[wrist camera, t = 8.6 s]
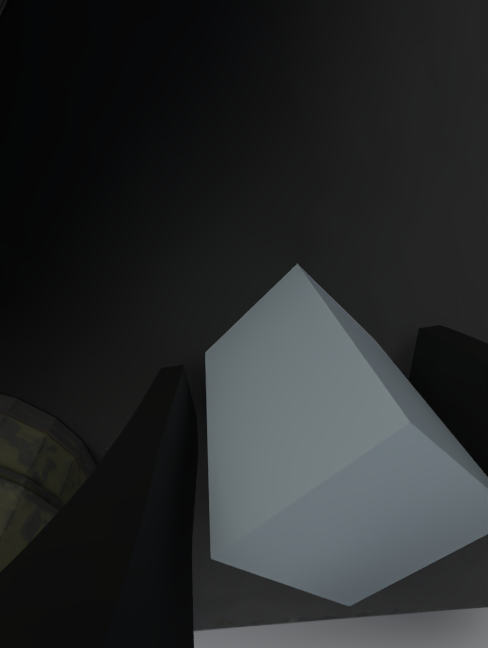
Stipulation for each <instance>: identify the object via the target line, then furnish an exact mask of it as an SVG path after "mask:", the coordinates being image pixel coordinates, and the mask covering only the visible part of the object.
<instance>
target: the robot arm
mask: <svg viewBox="0 0 488 648" xmlns="http://www.w3.org/2000/svg"><path fill="white" fill-rule="evenodd" d="M409 382H410V383H411V384H412V386H413V387H414V388H415V389H416V391H417V392H418V393H419V394H420V395H421V397H422V398H423V399H424V400H425V401H426V403H427V404H428V405H429V406H430V408H431V409H432V410H433V411H434V412H435V414H436V415H437V416H438V417H439V419H440V420H441V421H442V422H443V423H444V425H445V426H446V427H447V428H448V429H449V431H450V432H451V433H452V434H453V436H454V437H455V438H456V439H457V440H458V442H459V443H460V444H461V445H462V446H463V448H464V449H465V450H466V451H467V453H468V454H469V455H470V456H471V457H472V459H473V460H474V461H475V462H476V464H477V465H478V466H479V467H480V468H481V470H482V471H483V472H484V473H485V474H486V476H487V477H488V344H487V343H485V342H483V341H480V340H478V339H475V338H473V337H470V336H468V335H465V334H463V333H460V332H458V331H455V330H452V329H449V328H446V327H443V326H440V325H438V326H432V327H426V328H419V331H418V337H417V342H416V347H415V352H414V357H413V362H412V367H411V373H410V378H409ZM197 460H198V435H197V417H196V413H195V409H194V405H193V401H192V397H191V393H190V389H189V385H188V381H187V377H186V373H185V369H184V365H180V366H173V367H167V368H162V369H161V370H160V371H159V372H158V374H157V376H156V378H155V379H154V381H153V383H152V385H151V386H150V388H149V390H148V391H147V393H146V395H145V396H144V398H143V400H142V401H141V403H140V405H139V406H138V408H137V409H136V411H135V412H134V414H133V416H132V417H131V419H130V420H129V422H128V423H127V425H126V426H125V428H124V429H123V431H122V432H121V434H120V435H119V437H118V438H117V439H116V441H115V442H114V443H113V445H112V446H111V448H110V449H109V450H108V452H107V453H106V455H105V456H104V457H103V459H102V460H101V461H100V463H99V464H98V465H97V467H96V468H95V469H94V470H93V472H92V473H91V474H90V475H89V477H88V478H87V479H86V480H85V482H84V483H83V484H82V485H81V486H80V488H79V489H78V490H77V491H76V492H75V494H74V495H73V496H72V497H71V498H70V499H69V501H68V502H67V503H66V504H65V505H64V506H63V507H62V508H61V510H60V511H59V512H58V513H57V514H56V515H55V516H54V517H53V518H52V519H51V521H50V522H49V523H48V524H47V525H46V526H45V527H44V528H43V529H42V530H41V531H40V532H39V533H38V534H37V535H36V536H35V537H34V539H33V540H32V541H31V542H30V543H29V544H28V545H27V546H26V547H25V548H24V549H23V550H22V551H21V552H20V553H19V554H18V555H17V556H16V557H15V558H14V559H13V560H12V561H11V562H10V563H9V564H8V565H7V566H6V567H5V568H4V569H3V570H2V571H1V572H0V648H194V640H193V639H194V638H193V637H194V635H193V597H192V532H193V518H194V503H195V489H196V475H197Z"/></svg>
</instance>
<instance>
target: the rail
mask: <svg viewBox="0 0 488 648" xmlns="http://www.w3.org/2000/svg"><path fill="white" fill-rule="evenodd" d="M7 2H8V0H0V16H1V14H2V12H3V10H4V8H5V6H6V4H7Z"/></svg>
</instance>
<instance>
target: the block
mask: <svg viewBox="0 0 488 648" xmlns="http://www.w3.org/2000/svg"><path fill="white" fill-rule="evenodd" d="M205 364H206V401H207V439H208V476H209V513H210V550H211V559H213V560H216V561H219V562H222V563H224V564H227V565H230V566H233V567H236V568H239V569H242V570H245V571H248V572H251V573H253V574H256V575H259V576H262V577H265V578H268V579H271V580H274V581H277V582H280V583H283V584H285V585H288V586H291V587H294V588H297V589H300V590H303V591H306V592H309V593H312V594H314V595H317V596H320V597H323V598H326V599H329V600H332V601H335V602H338V603H341V604H344V605H346V606H351V605H353V604H355V603H357V602H359V601H361V600H362V599H364V598H366V597H368V596H370V595H372V594H374V593H376V592H378V591H380V590H382V589H383V588H385V587H387V586H389V585H391V584H393V583H395V582H397V581H399V580H401V579H403V578H405V577H406V576H408V575H410V574H412V573H414V572H416V571H418V570H420V569H422V568H424V567H426V566H427V565H429V564H431V563H433V562H435V561H437V560H439V559H441V558H443V557H445V556H447V555H448V554H450V553H452V552H454V551H456V550H458V549H460V548H462V547H464V546H466V545H468V544H470V543H471V542H473V541H475V540H477V539H479V538H481V537H483V536H485V535H487V534H488V477H487V476H486V474H485V473H484V472H483V471H482V470H481V468H480V467H479V466H478V465H477V464H476V462H475V461H474V460H473V459H472V457H471V456H470V455H469V454H468V453H467V451H466V450H465V449H464V448H463V446H462V445H461V444H460V443H459V442H458V440H457V439H456V438H455V437H454V436H453V434H452V433H451V432H450V431H449V429H448V428H447V427H446V426H445V425H444V423H443V422H442V421H441V420H440V419H439V417H438V416H437V415H436V414H435V412H434V411H433V410H432V409H431V408H430V406H429V405H428V404H427V403H426V401H425V400H424V399H423V398H422V397H421V395H420V394H419V393H418V392H417V391H416V389H415V388H414V387H413V386H412V384H411V383H410V382H409V381H408V380H407V378H406V377H405V376H404V375H403V374H402V372H401V371H400V370H399V369H398V367H397V366H396V365H395V364H394V363H393V361H392V360H391V359H390V358H389V356H388V355H387V354H386V353H385V352H384V350H383V349H382V348H381V347H380V346H379V344H378V343H377V342H376V341H375V339H374V338H373V337H372V336H370V335H369V334H368V333H367V332H366V331H365V330H364V329H363V328H362V327H361V326H360V325H359V324H358V323H357V322H356V321H355V320H354V319H353V318H352V317H351V316H350V315H349V314H348V313H347V312H346V311H345V310H344V309H343V308H342V307H341V306H340V305H339V304H338V303H337V302H336V301H335V300H334V299H333V298H332V297H331V296H330V295H329V294H328V293H327V292H326V291H325V290H323V289H322V288H321V287H320V286H319V285H318V284H317V283H316V282H315V281H314V280H313V279H312V278H311V277H310V276H309V275H308V274H307V273H306V272H305V271H304V270H303V269H302V268H301V267H300V266H299V265H298V264H297V265H296V266H295V267H293V268H292V269H291V270H290V271H289V272H288V273H287V274H286V275H285V276H284V277H283V278H282V279H281V280H280V281H279V282H278V283H277V284H276V285H275V286H274V287H273V288H272V289H271V290H270V291H269V292H268V293H267V294H266V295H264V296H263V297H262V298H261V299H260V300H259V301H258V302H257V303H256V304H255V305H254V306H253V307H252V308H251V309H250V310H249V311H248V312H247V313H246V314H245V315H244V316H243V317H242V318H241V319H240V320H239V321H238V322H237V323H235V324H234V325H233V326H232V327H231V328H230V329H229V330H228V331H227V332H226V333H225V334H224V335H223V336H222V337H221V338H220V339H219V340H218V341H217V342H216V343H215V344H214V345H213V346H212V347H211V348H210V349H209V350H208V351H206V352H205Z"/></svg>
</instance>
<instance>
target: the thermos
mask: <svg viewBox="0 0 488 648" xmlns="http://www.w3.org/2000/svg"><path fill="white" fill-rule="evenodd" d="M95 468H96V464H95V462H94V461H93V459H92V457H91V455H90V454H89V452H88V450H87V448H86V446H85V445H84V443H83V441H82V440H81V439H80V438H78V437H77V436H76V435H75V434H74V433H73V432H72V431H70V430H69V429H68V428H67V427H66V426H65V425H64V424H62V423H61V422H60V421H59V420H58V419H57V418H55V417H53V416H51V415H49V414H47V413H45V412H43V411H41V410H39V409H37V408H35V407H33V406H31V405H29V404H27V403H25V402H23V401H21V400H19V399H17V398H14V397H10V396H7V395H3V394H0V572H1V571H2V570H3V569H4V568H5V567H6V566H7V565H8V564H9V563H10V562H11V561H12V560H13V559H14V558H15V557H16V556H17V555H18V554H19V553H20V552H21V551H22V550H23V549H24V548H25V547H26V546H27V545H28V544H29V543H30V542H31V541H32V540H33V539H34V537H35V536H36V535H37V534H38V533H39V532H40V531H41V530H42V529H43V528H44V527H45V526H46V525H47V524H48V523H49V522H50V521H51V519H52V518H53V517H54V516H55V515H56V514H57V513H58V512H59V511H60V510H61V508H62V507H63V506H64V505H65V504H66V503H67V502H68V501H69V499H70V498H71V497H72V496H73V495H74V494H75V492H76V491H77V490H78V489H79V488H80V486H81V485H82V484H83V483H84V482H85V480H86V479H87V478H88V477H89V475H90V474H91V473H92V472H93V470H94V469H95Z"/></svg>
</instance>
